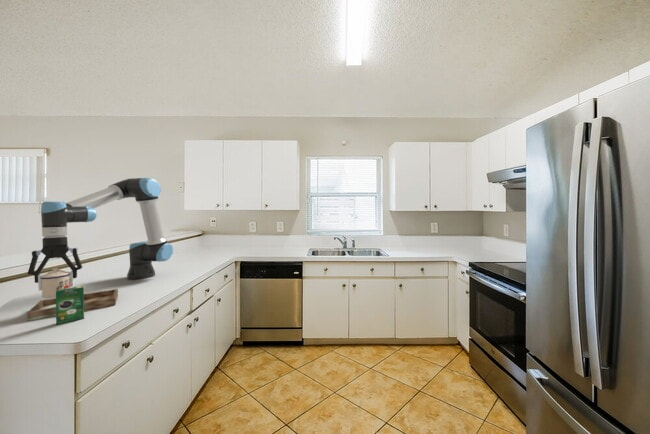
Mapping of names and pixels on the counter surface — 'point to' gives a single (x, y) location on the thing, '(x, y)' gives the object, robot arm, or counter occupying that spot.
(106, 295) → the wooden tray
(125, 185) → the robot arm
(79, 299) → the coffee box
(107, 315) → the counter surface
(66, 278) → the teacup with lid
